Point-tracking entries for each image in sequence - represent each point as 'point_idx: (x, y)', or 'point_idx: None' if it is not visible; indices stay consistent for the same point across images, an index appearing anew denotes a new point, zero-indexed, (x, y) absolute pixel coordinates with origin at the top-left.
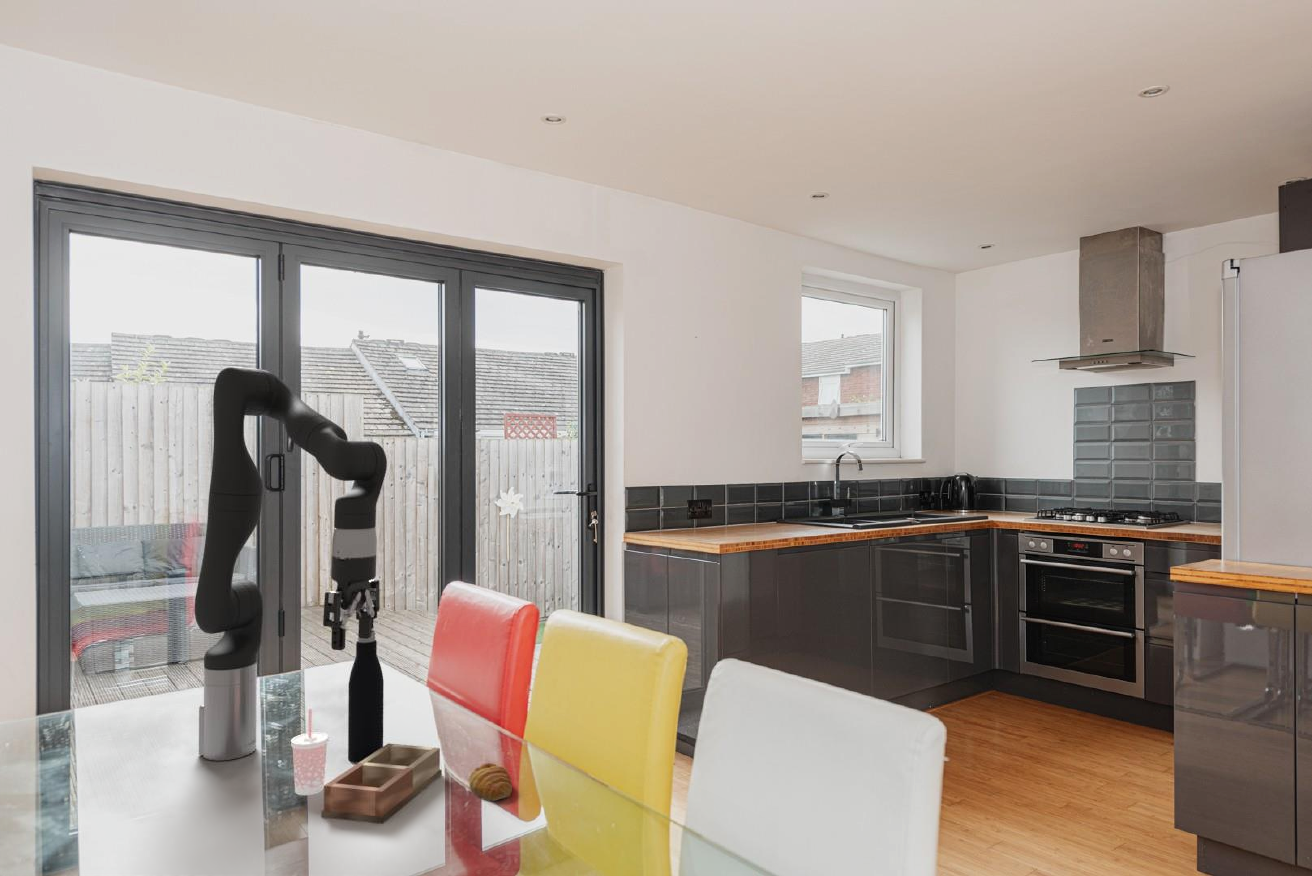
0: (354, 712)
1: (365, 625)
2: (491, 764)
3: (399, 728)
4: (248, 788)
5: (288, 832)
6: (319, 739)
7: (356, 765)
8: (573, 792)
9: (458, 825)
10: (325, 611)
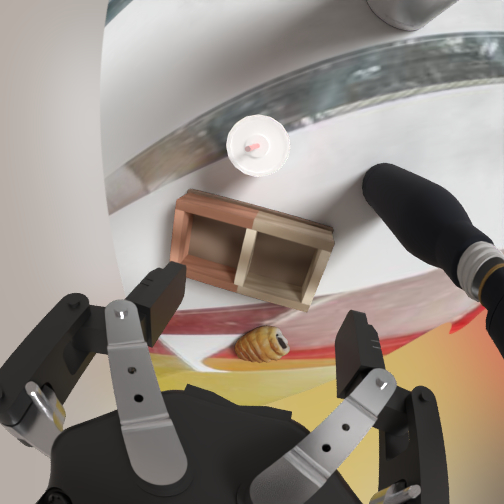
0: (385, 190)
1: (343, 363)
2: (279, 353)
3: (475, 213)
4: (274, 61)
5: (156, 168)
6: (255, 163)
7: (245, 220)
8: (256, 389)
9: (187, 319)
10: (34, 338)
